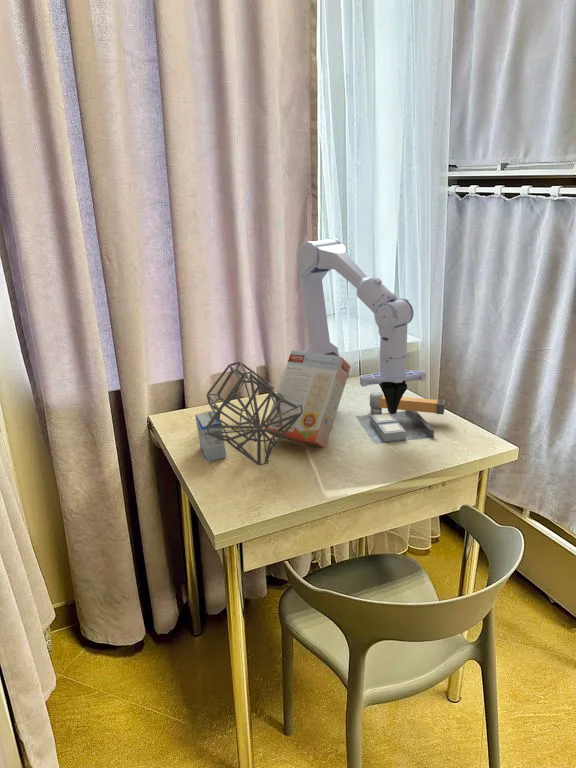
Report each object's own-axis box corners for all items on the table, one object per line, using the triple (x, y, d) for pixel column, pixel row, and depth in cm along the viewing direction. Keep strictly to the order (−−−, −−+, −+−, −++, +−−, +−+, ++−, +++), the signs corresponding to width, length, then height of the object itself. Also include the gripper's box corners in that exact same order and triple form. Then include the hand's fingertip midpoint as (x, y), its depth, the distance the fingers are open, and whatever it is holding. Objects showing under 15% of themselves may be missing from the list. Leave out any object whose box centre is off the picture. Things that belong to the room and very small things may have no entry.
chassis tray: (374, 447, 124) (374, 433, 122) (354, 418, 140) (354, 405, 139) (433, 441, 125) (434, 427, 124) (407, 412, 141) (407, 400, 140)
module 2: (384, 441, 124) (384, 433, 123) (377, 432, 129) (377, 424, 128) (405, 439, 125) (405, 430, 124) (398, 430, 129) (398, 422, 129)
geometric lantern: (244, 429, 143) (268, 479, 109) (193, 396, 138) (203, 438, 105) (279, 380, 142) (314, 415, 109) (229, 346, 138) (251, 371, 104)
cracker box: (325, 450, 124) (352, 365, 128) (314, 443, 119) (342, 355, 124) (275, 438, 131) (302, 358, 136) (262, 430, 127) (291, 348, 131)
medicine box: (200, 448, 128) (194, 414, 124) (218, 443, 129) (213, 409, 126) (207, 462, 121) (201, 427, 117) (227, 457, 122) (221, 422, 119)
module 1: (376, 430, 130) (376, 422, 129) (370, 422, 134) (370, 414, 134) (396, 428, 130) (397, 420, 130) (390, 420, 135) (390, 412, 134)
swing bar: (368, 407, 136) (368, 396, 135) (371, 402, 139) (371, 391, 138) (443, 414, 130) (443, 402, 129) (444, 409, 133) (445, 397, 132)
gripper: (366, 363, 115) (366, 422, 120) (432, 357, 117) (429, 415, 122) (357, 354, 122) (357, 410, 127) (419, 348, 124) (417, 404, 128)
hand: (392, 412), depth 125 cm, fingers closed
